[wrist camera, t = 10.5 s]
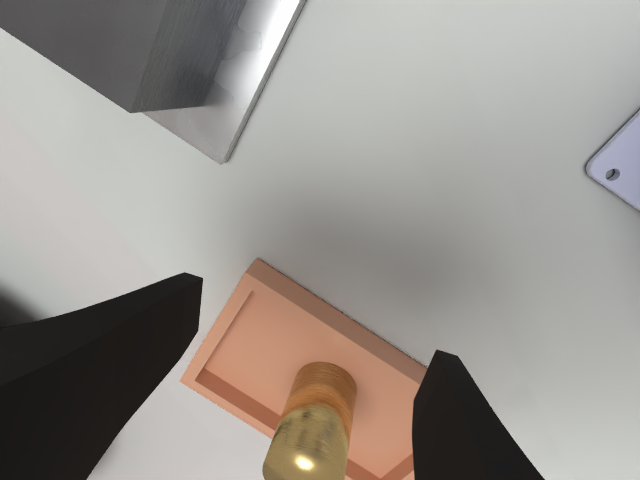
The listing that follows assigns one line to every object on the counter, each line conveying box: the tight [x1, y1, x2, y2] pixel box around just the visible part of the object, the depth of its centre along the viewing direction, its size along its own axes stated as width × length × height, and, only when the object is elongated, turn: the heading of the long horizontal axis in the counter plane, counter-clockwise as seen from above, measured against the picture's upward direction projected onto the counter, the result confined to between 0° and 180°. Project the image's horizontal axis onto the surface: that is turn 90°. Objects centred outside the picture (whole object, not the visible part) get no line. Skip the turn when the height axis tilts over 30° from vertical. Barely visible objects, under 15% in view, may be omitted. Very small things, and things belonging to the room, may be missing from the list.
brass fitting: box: [263, 362, 357, 480], centre depth 20 cm, size 4×4×6 cm
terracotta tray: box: [180, 258, 427, 480], centre depth 23 cm, size 16×10×2 cm, turn 58°
